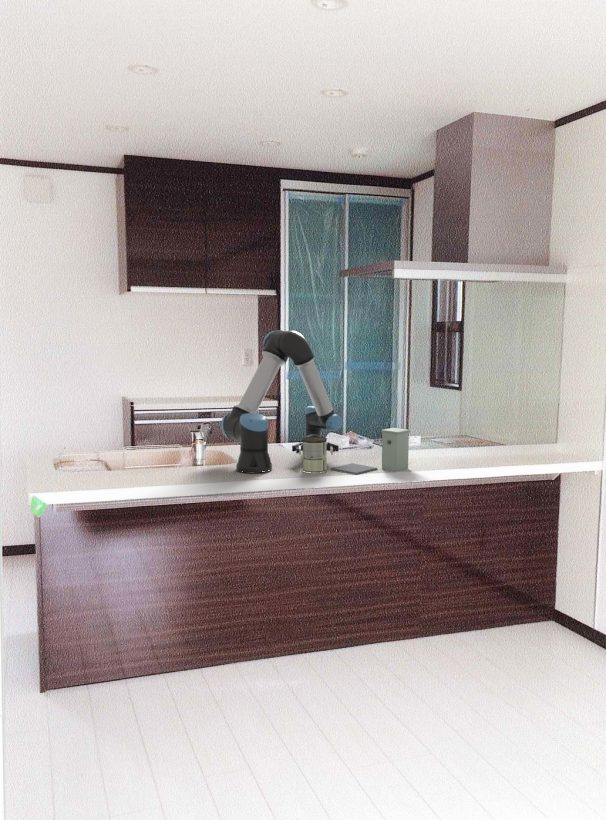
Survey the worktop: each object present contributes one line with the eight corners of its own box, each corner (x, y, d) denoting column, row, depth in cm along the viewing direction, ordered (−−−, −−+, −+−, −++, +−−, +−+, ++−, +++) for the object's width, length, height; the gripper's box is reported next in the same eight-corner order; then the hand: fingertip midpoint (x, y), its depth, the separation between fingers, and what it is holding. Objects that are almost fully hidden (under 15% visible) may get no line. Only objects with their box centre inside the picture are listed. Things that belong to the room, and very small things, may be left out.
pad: (356, 474, 302) (356, 472, 302) (330, 469, 312) (330, 467, 312) (377, 469, 312) (377, 467, 312) (352, 464, 322) (352, 463, 322)
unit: (396, 471, 308) (397, 432, 306) (380, 468, 314) (380, 429, 312) (409, 468, 315) (410, 429, 313) (393, 465, 321) (394, 427, 318)
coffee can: (299, 469, 312) (299, 436, 310) (322, 468, 315) (322, 435, 313) (306, 474, 302) (306, 440, 301) (330, 472, 305) (330, 439, 304)
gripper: (341, 451, 335) (345, 460, 314) (286, 451, 334) (286, 460, 313) (341, 434, 334) (345, 443, 313) (286, 435, 333) (286, 443, 312)
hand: (316, 451), depth 313 cm, fingers open, 13 cm apart
